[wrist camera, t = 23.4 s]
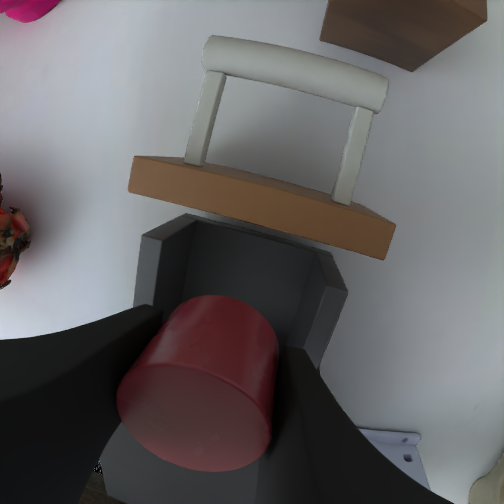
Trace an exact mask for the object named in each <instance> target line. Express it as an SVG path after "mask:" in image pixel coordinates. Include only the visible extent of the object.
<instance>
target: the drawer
mask: <svg viewBox="0 0 504 504" xmlns="http://www.w3.org/2000/svg"><path fill="white" fill-rule="evenodd" d="M202 68H203V70H204V71H205V72H207V73H206V77H205V80H204V84H203V87H202V91H201V94H200V98H199V102H198V105H197V109H196V113H195V117H194V121H193V125H192V129H191V133H190V137H189V141H188V145H187V149H186V154H185V158H180V157H158V156H134V158H133V163H132V169H131V174H130V179H129V185H128V192H130V193H134V194H138V195H142V196H147V197H151V198H155V199H159V200H163V201H167V202H171V203H175V204H179V205H183V206H187V207H191V208H195V209H199V210H203V211H206V212H210V213H214V214H218V215H222V216H226V217H230V218H233V219H237V220H241V221H245V222H248V223H252V224H256V225H260V226H263V227H267V228H271V229H274V230H278V231H282V232H285V233H289V234H293V235H296V236H300V237H303V238H307V239H311V240H314V241H318V242H321V243H325V244H328V245H332V246H335V247H339V248H342V249H346V250H349V251H353V252H356V253H359V254H363V255H366V256H370V257H373V258H376V259H380V260H384V259H385V257H386V254H387V251H388V248H389V245H390V242H391V239H392V236H393V233H394V230H395V227H396V225H395V224H394V223H393V222H391V221H389V220H388V219H386V218H384V217H382V216H381V215H379V214H377V213H375V212H373V211H372V210H370V209H368V208H366V207H365V206H363V205H361V204H359V203H356V202H353V201H351V199H352V195H353V192H354V188H355V185H356V181H357V178H358V174H359V170H360V166H361V163H362V159H363V155H364V151H365V147H366V143H367V139H368V135H369V131H370V127H371V123H372V119H373V114H378V113H379V112H380V111H381V109H382V107H383V105H384V102H385V100H386V96H387V92H388V85H389V82H388V78H387V77H385V76H382V75H380V74H377V73H374V72H371V71H368V70H366V69H363V68H360V67H357V66H354V65H350V64H347V63H344V62H341V61H337V60H334V59H331V58H327V57H324V56H320V55H316V54H312V53H308V52H304V51H300V50H296V49H292V48H287V47H283V46H278V45H273V44H268V43H263V42H257V41H251V40H245V39H239V38H232V37H224V36H216V35H212V36H210V37H209V38H208V40H207V42H206V44H205V46H204V50H203V54H202ZM225 75H228V76H234V77H239V78H245V79H250V80H255V81H260V82H264V83H269V84H274V85H278V86H282V87H286V88H291V89H295V90H299V91H302V92H306V93H310V94H314V95H317V96H321V97H324V98H328V99H331V100H334V101H338V102H341V103H344V104H347V105H350V106H353V107H356V108H355V109H354V111H353V115H352V119H351V123H350V127H349V131H348V135H347V139H346V143H345V147H344V151H343V155H342V158H341V162H340V166H339V170H338V173H337V177H336V181H335V184H334V188H333V191H332V195H330V194H326V193H323V192H320V191H316V190H313V189H309V188H306V187H302V186H299V185H295V184H291V183H288V182H284V181H280V180H277V179H273V178H269V177H265V176H261V175H257V174H253V173H249V172H245V171H241V170H237V169H233V168H229V167H225V166H220V165H216V164H212V163H207V162H205V159H206V155H207V151H208V147H209V143H210V139H211V135H212V131H213V127H214V123H215V119H216V115H217V111H218V108H219V104H220V100H221V96H222V93H223V89H224V86H225V82H226V76H225ZM205 295H220V296H227V297H231V298H235V299H237V300H240V301H242V302H244V303H246V304H248V305H250V306H251V307H253V308H254V309H256V310H257V311H258V312H259V313H261V314H262V315H263V316H264V318H265V319H266V320H267V321H268V322H269V324H270V325H271V327H272V329H273V330H274V332H275V335H276V338H277V341H278V348H279V355H278V362H279V360H280V357H281V354H282V351H283V349H284V346H285V345H288V346H292V347H297V348H301V349H305V350H306V352H307V354H308V355H309V357H310V359H311V361H312V362H313V364H314V366H315V368H316V369H317V368H318V366H319V364H320V362H321V359H322V357H323V355H324V352H325V350H326V348H327V345H328V343H329V341H330V338H331V336H332V333H333V331H334V329H335V326H336V324H337V321H338V319H339V316H340V313H341V311H342V308H343V306H344V303H345V301H346V298H347V295H348V289H347V287H346V285H345V283H344V280H343V278H342V276H341V274H340V272H339V269H338V267H337V265H336V263H335V261H334V259H333V256H332V254H331V253H330V252H328V251H324V250H321V249H317V248H313V247H310V246H306V245H303V244H299V243H295V242H292V241H288V240H285V239H281V238H277V237H274V236H270V235H266V234H263V233H259V232H255V231H251V230H248V229H244V228H240V227H237V226H233V225H229V224H225V223H221V222H218V221H214V220H210V219H206V218H202V217H199V216H195V215H191V214H187V213H185V214H183V215H181V216H179V217H177V218H175V219H173V220H171V221H169V222H167V223H165V224H163V225H161V226H159V227H157V228H155V229H153V230H151V231H149V232H147V233H145V234H143V235H142V238H141V245H140V252H139V260H138V267H137V276H136V285H135V294H134V304H133V307H136V306H139V305H143V304H148V305H151V306H154V307H157V308H160V309H163V310H164V313H163V320H162V325H163V324H164V322H165V321H166V320H167V318H168V317H169V316H170V315H171V313H172V312H173V311H174V310H175V309H176V308H177V307H178V306H179V305H181V304H182V303H184V302H185V301H188V300H190V299H192V298H195V297H199V296H205Z"/></svg>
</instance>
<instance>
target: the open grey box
mask: <svg viewBox="0 0 504 504" xmlns="http://www.w3.org/2000/svg"><path fill="white" fill-rule="evenodd" d="M317 371H318V373H319V374H320V370H319V366H318V368H317ZM100 462H101V467H102V472H103V477H104V482H105V487H106V491H107V495H109V496H111V497H113V498H115V499H118V500H120V501H122V502H125V503H127V504H254V502H255V497H256V489H257V480H258V463H259V459H258V460H256V461H255V462H254V463H252V464H250V465H248V466H246V467H243V468H240V469H237V470H233V471H226V472H204V471H197V470H191V469H187V468H184V467H180V466H178V465H175V464H172V463H170V462H168V461H165V460H163V459H162V458H160V457H158V456H156V455H155V454H153V453H151V452H150V451H149V450H147V449H146V448H145V447H143V446H142V445H141V444H140V443H139V442H138V441H137V440H135V438H134V437H133V436H132V435H131V434H130V433H129V431H128V430H127V429H126V427H125V426H124V424H123V422H121V423H120V425H119V426H118V428H117V429H116V431H115V432H114V434H113V435H112V436H111V438H110V440H109V441H108V443H107V445H106V446H105V448H104V450H103V452H102V454H101V456H100Z"/></svg>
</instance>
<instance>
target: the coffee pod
mask: <svg viewBox="0 0 504 504" xmlns="http://www.w3.org/2000/svg"><path fill="white" fill-rule="evenodd" d="M278 355H279V348H278V341H277V338H276V335H275V332H274V330H273V329H272V327H271V325H270V324H269V322H268V321H267V320H266V319H265V318H264V316H263V315H262V314H261V313H259V312H258V311H257V310H256V309H254V308H253V307H251V306H250V305H248V304H246V303H244V302H242V301H240V300H237V299H235V298H231V297H227V296H220V295H205V296H199V297H195V298H192V299H190V300H188V301H185V302H184V303H182V304H181V305H179V306H178V307H177V308H176V309H175V310H174V311H173V312H172V313H171V315H170V316H169V317H168V318H167V320H166V321H165V322H164V324H163V325H162V326H161V328H160V329H159V330H158V332H157V333H156V334H155V335H154V337H153V338H152V339H151V341H150V342H149V343H148V345H147V346H146V347H145V349H144V350H143V351H142V353H141V354H140V355H139V357H138V358H137V359H136V361H135V362H134V363H133V365H132V366H131V367H130V369H129V370H128V371H127V373H126V374H125V375H124V377H123V378H122V379H121V381H120V383H119V385H118V388H117V392H116V406H117V410H118V414H119V416H120V418H121V421H122V422H123V424H124V426H125V427H126V429H127V430H128V431H129V433H130V434H131V435H132V436H133V437H134V438H135V440H137V441H138V442H139V443H140V444H141V445H142V446H143V447H145V448H146V449H147V450H149V451H150V452H151V453H153V454H155V455H156V456H158V457H160V458H162V459H163V460H165V461H168V462H170V463H172V464H175V465H178V466H180V467H184V468H187V469H191V470H197V471H204V472H226V471H233V470H237V469H240V468H243V467H246V466H248V465H250V464H252V463H254V462H255V461H256V460H258V459H259V458H260V457H261V456H262V455H263V454H264V453H265V451H266V450H267V448H268V447H269V444H270V442H271V437H272V428H273V417H274V405H275V393H276V381H277V368H278Z"/></svg>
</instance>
